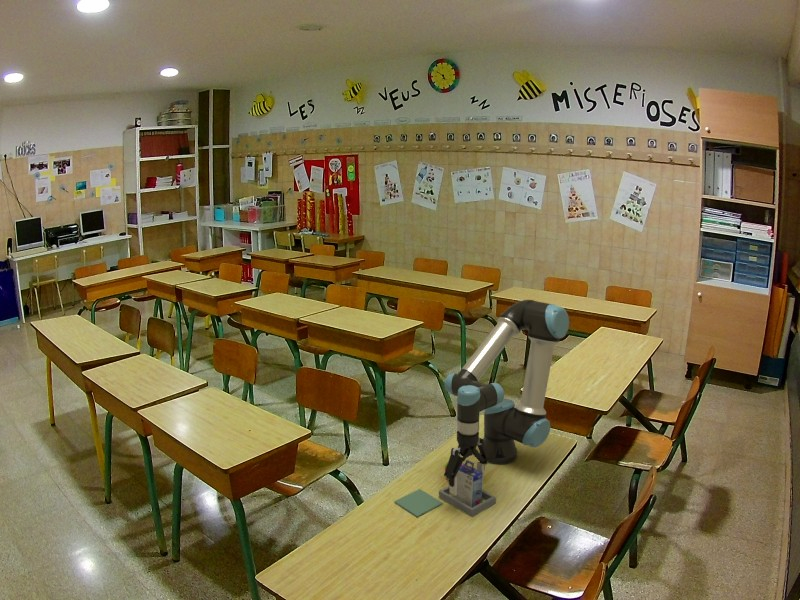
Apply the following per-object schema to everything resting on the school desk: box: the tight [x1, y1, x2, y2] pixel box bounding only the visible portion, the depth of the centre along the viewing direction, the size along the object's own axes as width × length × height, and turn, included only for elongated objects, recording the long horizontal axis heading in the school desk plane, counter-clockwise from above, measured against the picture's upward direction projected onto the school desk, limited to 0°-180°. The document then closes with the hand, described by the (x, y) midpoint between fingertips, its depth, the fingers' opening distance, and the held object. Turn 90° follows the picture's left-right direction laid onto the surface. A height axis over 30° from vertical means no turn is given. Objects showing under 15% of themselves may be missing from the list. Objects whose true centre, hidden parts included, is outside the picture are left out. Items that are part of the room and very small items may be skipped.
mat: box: [394, 488, 444, 518], centre depth 214 cm, size 12×12×1 cm
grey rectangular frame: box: [438, 485, 497, 518], centre depth 216 cm, size 12×16×2 cm
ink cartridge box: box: [451, 459, 483, 508], centre depth 214 cm, size 10×6×14 cm, turn 43°
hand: (466, 486), depth 214 cm, fingers open, 13 cm apart
